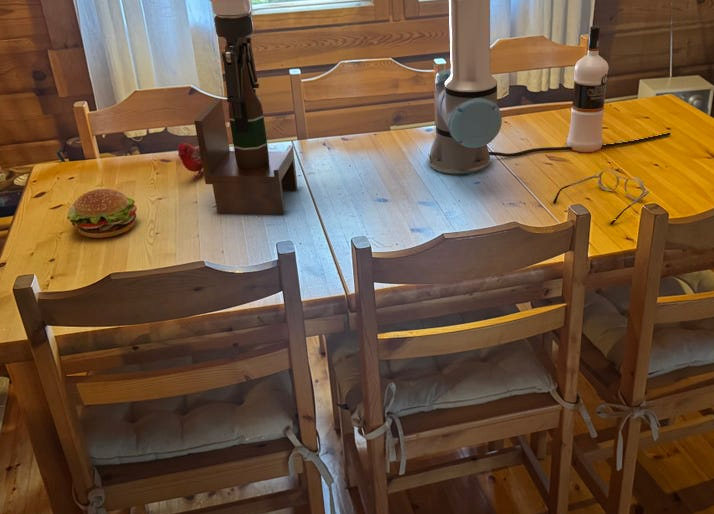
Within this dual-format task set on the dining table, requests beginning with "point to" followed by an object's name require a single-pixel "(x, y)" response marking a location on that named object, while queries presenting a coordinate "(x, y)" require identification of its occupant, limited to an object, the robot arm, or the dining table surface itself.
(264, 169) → the shelf stand
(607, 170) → the eyeglasses
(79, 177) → the dining table surface
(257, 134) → the beer bottle
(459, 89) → the robot arm
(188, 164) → the decorative bird figurine
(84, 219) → the food
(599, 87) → the vodka
